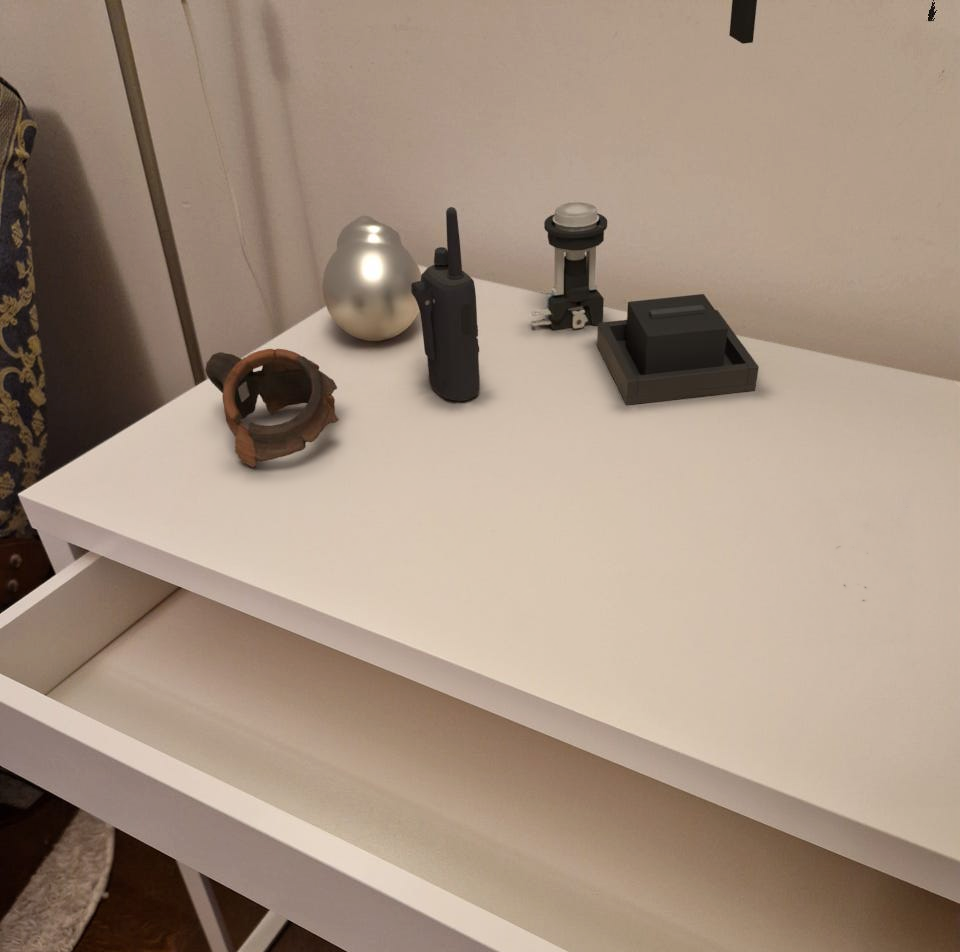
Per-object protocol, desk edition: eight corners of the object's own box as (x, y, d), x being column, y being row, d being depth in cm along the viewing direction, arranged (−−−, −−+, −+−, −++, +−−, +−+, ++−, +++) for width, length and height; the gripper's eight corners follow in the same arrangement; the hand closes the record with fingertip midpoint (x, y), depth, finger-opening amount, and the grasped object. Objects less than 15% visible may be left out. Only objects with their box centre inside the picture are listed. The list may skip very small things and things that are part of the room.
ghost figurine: (442, 315, 93) (434, 205, 87) (407, 363, 87) (394, 247, 80) (353, 307, 96) (338, 199, 89) (312, 352, 89) (292, 240, 82)
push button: (539, 342, 88) (539, 227, 82) (523, 317, 92) (521, 205, 86) (611, 330, 89) (616, 216, 83) (592, 306, 93) (596, 195, 87)
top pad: (699, 338, 86) (704, 288, 83) (722, 374, 82) (728, 322, 79) (625, 346, 86) (627, 296, 83) (644, 382, 81) (648, 331, 78)
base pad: (714, 332, 88) (717, 309, 87) (755, 390, 81) (759, 366, 79) (596, 345, 88) (597, 322, 86) (626, 405, 80) (627, 381, 78)
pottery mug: (372, 419, 81) (356, 363, 73) (311, 514, 79) (287, 467, 71) (248, 359, 83) (219, 298, 75) (185, 450, 81) (149, 397, 73)
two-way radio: (488, 398, 82) (479, 209, 72) (440, 414, 80) (424, 224, 70) (456, 371, 85) (442, 188, 75) (409, 386, 84) (389, 201, 74)
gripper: (704, -389, 53) (678, 60, 68) (1144, -428, 55) (1029, 18, 69) (663, -376, 59) (647, 36, 73) (1064, -412, 60) (973, -2, 75)
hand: (833, 28), depth 71 cm, fingers open, 13 cm apart
